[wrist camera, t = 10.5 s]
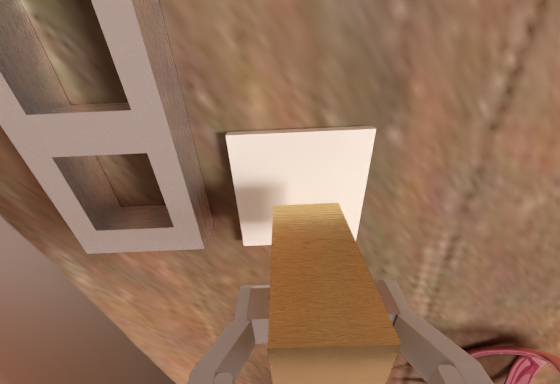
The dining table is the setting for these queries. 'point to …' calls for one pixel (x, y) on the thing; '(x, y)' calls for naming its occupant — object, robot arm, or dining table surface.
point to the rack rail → (106, 132)
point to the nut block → (324, 303)
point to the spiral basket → (520, 361)
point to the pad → (298, 173)
